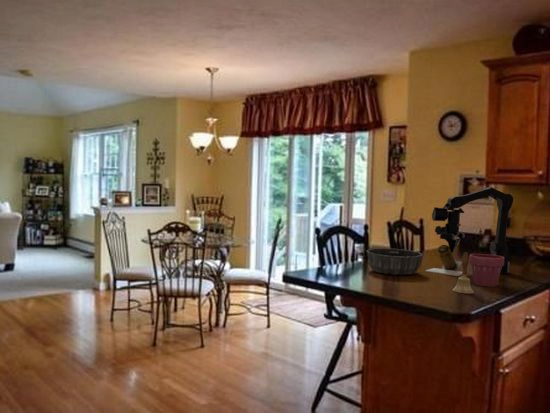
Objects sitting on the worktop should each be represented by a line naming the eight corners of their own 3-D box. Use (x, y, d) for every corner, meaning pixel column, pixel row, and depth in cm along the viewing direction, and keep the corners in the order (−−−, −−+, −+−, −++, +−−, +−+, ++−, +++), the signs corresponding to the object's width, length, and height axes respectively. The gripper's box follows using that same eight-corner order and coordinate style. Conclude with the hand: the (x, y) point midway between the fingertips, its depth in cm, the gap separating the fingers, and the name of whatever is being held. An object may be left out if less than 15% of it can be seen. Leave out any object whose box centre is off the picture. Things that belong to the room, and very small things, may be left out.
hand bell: (469, 289, 217) (471, 251, 217) (477, 294, 209) (479, 254, 208) (449, 289, 217) (451, 250, 216) (456, 293, 209) (459, 253, 208)
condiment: (447, 259, 270) (440, 242, 265) (462, 262, 264) (455, 244, 259) (440, 269, 267) (433, 252, 262) (455, 272, 261) (448, 254, 255)
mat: (465, 273, 258) (465, 272, 258) (457, 276, 249) (457, 274, 249) (433, 269, 267) (433, 267, 267) (425, 271, 259) (425, 270, 259)
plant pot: (474, 280, 240) (476, 252, 239) (506, 285, 231) (508, 256, 231) (463, 284, 229) (465, 255, 228) (496, 289, 220) (498, 259, 219)
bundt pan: (423, 279, 238) (424, 257, 237) (364, 275, 243) (365, 253, 243) (419, 270, 264) (420, 250, 263) (366, 266, 269) (367, 247, 269)
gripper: (444, 219, 276) (442, 249, 276) (430, 221, 261) (428, 252, 262) (465, 221, 269) (464, 251, 270) (452, 222, 254) (451, 255, 255)
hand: (451, 252), depth 264 cm, fingers closed
